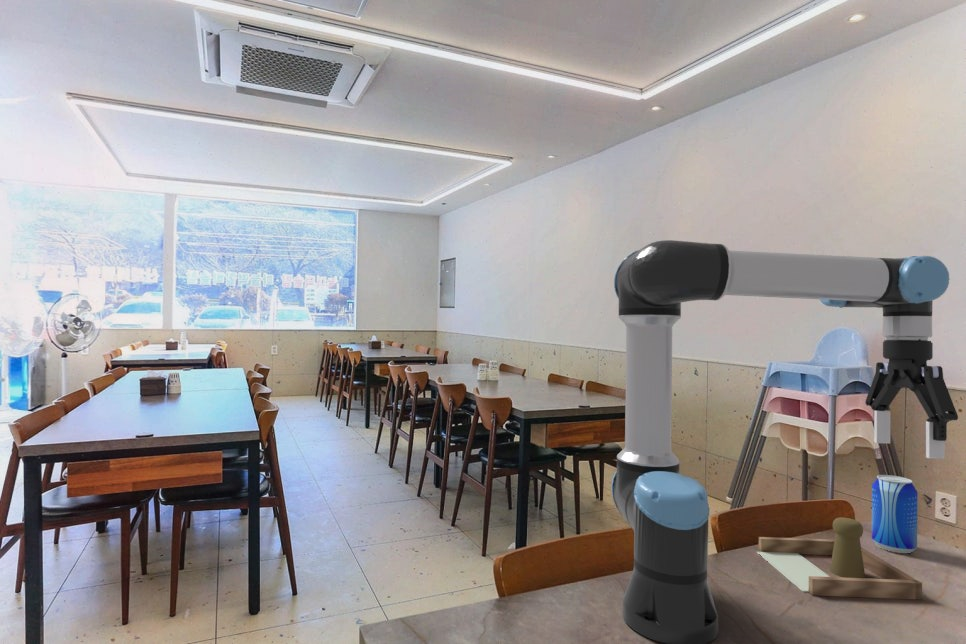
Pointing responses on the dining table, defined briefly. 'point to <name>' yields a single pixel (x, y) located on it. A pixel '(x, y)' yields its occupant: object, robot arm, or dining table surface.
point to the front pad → (793, 568)
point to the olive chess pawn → (847, 549)
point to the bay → (888, 587)
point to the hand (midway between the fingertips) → (907, 450)
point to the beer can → (894, 514)
